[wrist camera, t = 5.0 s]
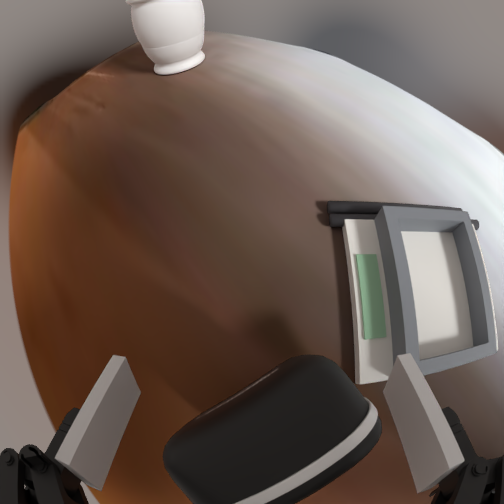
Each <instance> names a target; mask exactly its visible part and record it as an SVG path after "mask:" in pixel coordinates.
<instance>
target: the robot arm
mask: <svg viewBox="0 0 504 504" xmlns="http://www.w3.org/2000/svg"><path fill="white" fill-rule="evenodd" d="M140 394H141V391H140V389H139V387H138V385H137V383H136V380H135V378H134V376H133V374H132V371H131V369H130V366H129V364H128V362H127V359H126V357H123V356H116V355H113V356H112V358H111V359H110V361H109V362H108V364H107V366H106V367H105V369H104V370H103V372H102V374H101V375H100V377H99V379H98V380H97V382H96V384H95V385H94V387H93V389H92V390H91V392H90V394H89V395H88V397H87V399H86V401H85V402H84V404H83V406H82V408H81V409H77V408H73V409H72V410H71V411H70V412H68V413H67V415H66V416H65V418H64V420H63V421H62V424H61V425H60V427H59V430H57V432H56V434H55V436H54V438H53V439H52V441H51V443H50V445H49V447H48V449H47V451H46V452H45V453H43V452H42V451H41V450H40V449H39V448H37V446H34V445H26V446H24V447H23V448H22V449H21V450H20V453H19V454H18V453H17V452H16V451H15V450H14V449H11V448H6V449H5V450H3V451H2V453H1V455H0V504H89V503H88V501H87V498H86V496H85V493H84V491H83V488H82V486H81V485H80V482H81V481H83V482H84V483H85V484H87V485H88V486H90V487H93V488H95V489H97V490H100V491H102V488H103V485H104V483H105V480H106V477H107V475H108V472H109V469H110V467H111V464H112V461H113V459H114V456H115V454H116V451H117V449H118V446H119V444H120V441H121V439H122V436H123V434H124V431H125V429H126V427H127V424H128V422H129V419H130V417H131V415H132V412H133V410H134V408H135V405H136V403H137V401H138V398H139V396H140ZM383 394H384V396H385V399H386V401H387V404H388V407H389V409H390V412H391V415H392V417H393V420H394V423H395V425H396V428H397V431H398V434H399V437H400V440H401V443H402V445H403V448H404V451H405V454H406V458H407V461H408V464H409V467H410V470H411V473H412V477H413V480H414V484H415V487H416V491H417V494H418V493H420V492H423V491H425V490H428V489H430V488H432V487H434V486H435V485H436V484H438V483H439V487H438V488H437V489H435V490H434V491H433V492H431V494H430V495H429V496H430V497H431V496H432V495H434V494H435V493H436V494H435V496H434V498H433V500H432V502H431V504H504V455H503V456H502V457H499V458H495V459H490V460H486V459H485V458H483V457H478V456H477V455H476V453H475V451H474V449H473V447H472V445H471V443H470V440H469V438H468V436H467V434H466V432H465V430H463V429H464V428H463V426H462V424H460V420H459V418H458V416H457V414H456V413H455V412H454V411H453V410H452V409H451V408H449V407H446V408H444V409H441V408H440V406H439V404H438V402H437V400H436V398H435V396H434V394H433V393H432V391H431V389H430V387H429V385H428V383H427V381H426V380H425V378H424V376H423V374H422V372H421V371H420V369H419V367H418V365H417V364H416V362H415V360H414V358H413V357H412V355H411V353H408V354H403V355H397V358H396V361H395V363H394V366H393V368H392V371H391V373H390V376H389V378H388V381H387V383H386V385H385V388H384V390H383ZM24 484H25V485H26V487H25V489H24ZM494 489H495V490H494Z"/></svg>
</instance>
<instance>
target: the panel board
mask: <svg viewBox="0 0 504 504" xmlns="http://www.w3.org/2000/svg"><path fill="white" fill-rule="evenodd" d="M342 231H343V237H344V244H345V251H346V259H347V267H348V275H349V284H350V294H351V305H352V318H353V333H354V353H355V384H367V383H373V382H379V381H385V380H388V378H389V376H390V373H391V371H392V368H393V366H394V363H395V361H396V358H397V355H403V354H408V353H411V355H412V357H413V358H414V360H415V362H416V364H417V365H418V367H419V369H420V371H421V372H422V374H423V376H424V375H428V374H432V373H436V372H440V371H443V370H447V369H450V368H454V367H457V366H460V365H463V364H466V363H470V362H473V361H475V360H478V359H481V358H484V357H487V356H489V355H492V354H495V353H497V350H498V342H497V330H496V321H495V314H494V307H493V301H492V295H491V289H490V284H489V279H488V275H487V271H486V266H485V262H484V258H483V255H482V251H481V247H480V244H479V240H478V237H477V234H476V231H475V228H474V225H473V224H472V223H471V220H470V217H469V214H468V212H466V211H455V210H443V209H430V208H415V207H398V206H382V208H381V209H380V211H379V213H378V214H377V216H376V217H375V219H374V220H363V219H345V222H344V226H343V227H342Z"/></svg>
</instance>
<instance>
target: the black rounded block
mask: <svg viewBox="0 0 504 504" xmlns="http://www.w3.org/2000/svg"><path fill="white" fill-rule="evenodd" d="M381 433H382V425H381V420H380V418H379V416H378V412H377V409H376V408H375V406H374V405H373V404H372V403H371V401H370V400H368V399H367V398H365V397H363V395H362V394H361V393H360V392H359V390H358V389H357V388H356V386H355V385H354V384H353V382H352V381H351V380H350V379H349V377H348V376H347V375H346V373H345V372H344V371H343V370H342V369H341V368H340V367H339V366H338V365H337V364H336V363H335V362H333V361H332V360H330V359H328V358H326V357H324V356H318V355H301V356H296V357H292V358H290V359H288V360H286V361H285V362H283V363H281V364H280V365H278V366H276V367H275V368H274V369H272V370H271V371H269V372H268V373H266V374H265V375H263V376H262V377H260V378H259V379H257V380H256V381H254V382H253V383H251V384H250V385H248V386H247V387H245V388H243V389H242V390H240V391H239V392H237V393H235V394H234V395H232V396H230V397H229V398H227V399H225V400H224V401H222V402H220V403H219V404H217V405H215V406H213V407H212V408H210V409H208V410H206V411H204V412H203V413H201V414H200V415H198V416H197V417H195V418H194V419H193V420H191V421H190V422H188V423H187V424H186V425H185V426H183V427H182V428H181V429H180V430H179V431H178V432H176V433H175V434H174V435H173V436H172V437H171V438H170V440H169V441H168V442H167V444H166V445H165V448H164V452H163V461H164V465H165V468H166V470H167V472H168V473H169V475H170V476H171V478H172V479H173V481H174V482H175V483H176V484H177V486H178V487H179V488H180V489H181V490H182V491H183V493H184V494H185V495H186V496H187V497H188V498H189V499H190V501H191V502H192V503H193V504H295V503H297V502H299V501H301V500H303V499H305V498H306V497H308V496H310V495H311V494H313V493H315V492H316V491H318V490H320V489H321V488H323V487H324V486H326V485H327V484H329V483H331V482H332V481H334V480H335V479H336V478H338V477H339V476H341V475H342V474H344V473H345V472H346V471H348V470H349V469H350V468H352V467H353V466H354V465H356V464H357V463H358V462H359V461H360V460H362V459H363V458H364V457H365V456H366V455H367V454H368V453H369V452H370V451H371V449H372V448H373V447H374V446H375V444H376V443H377V442H378V440H379V438H380V435H381Z"/></svg>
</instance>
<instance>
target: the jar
mask: <svg viewBox="0 0 504 504" xmlns="http://www.w3.org/2000/svg"><path fill="white" fill-rule="evenodd" d="M126 3H127V4H129V5H131V7H132V8H131V17H132V24H133V28H134V31H135V34H136V36H137V38H138V40H139V42H140V44H141V45H142V47H143V49H144V51H145V53H146V55H147V56H148V57H149V58H150V59H151V60H152V61H153V62H154V63H155V66H154V71H155V73H157V74H161V75H169V74H175V73H179V72H183V71H186V70H188V69H191V68H193V67H195V66H197V65H198V64H200V63H201V62H202V61H203V60H204V58H205V55H204V53H203V52H202V51H201V48H202V45H203V41H204V22H205V18H204V8H203V4H202V1H201V0H126Z"/></svg>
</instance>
